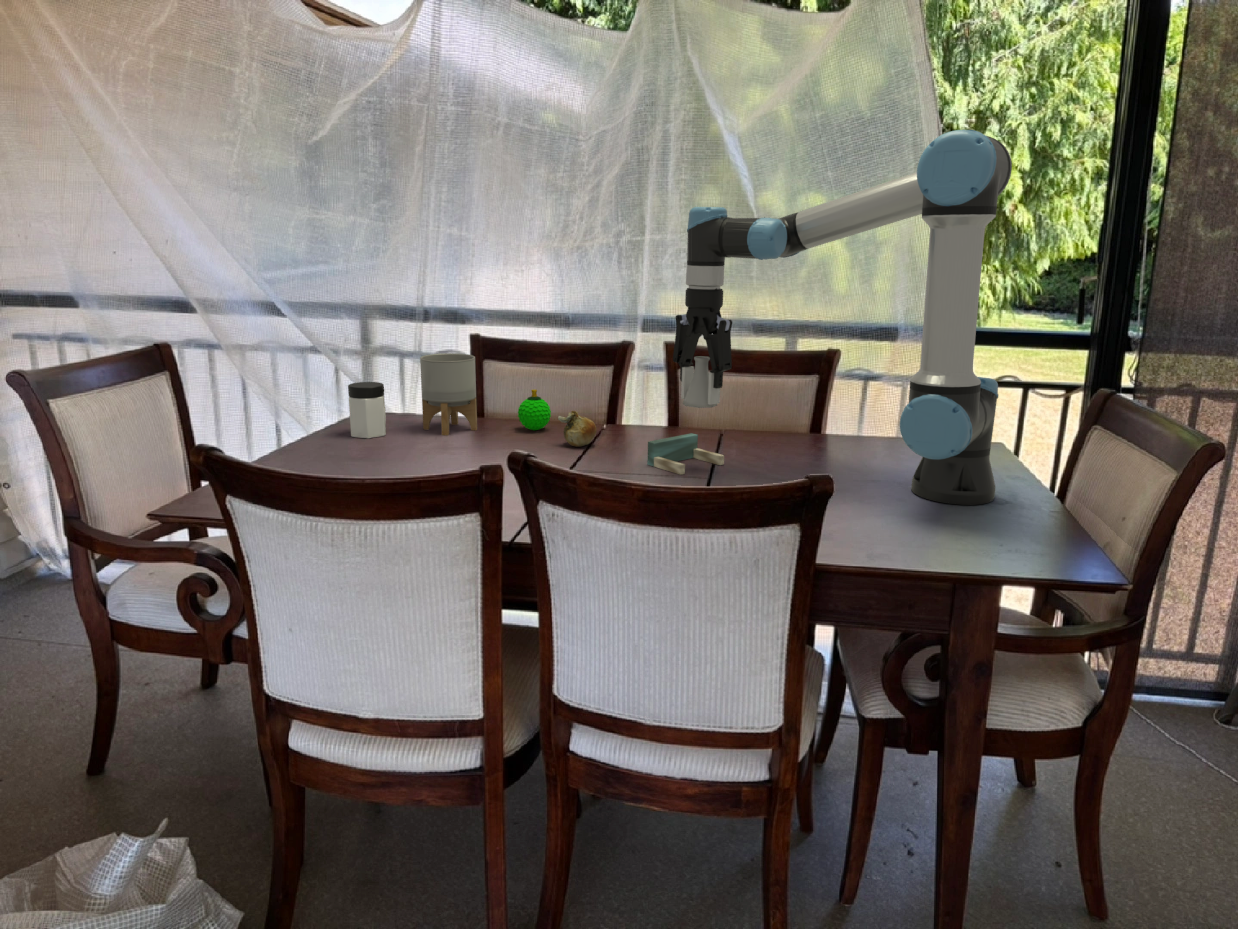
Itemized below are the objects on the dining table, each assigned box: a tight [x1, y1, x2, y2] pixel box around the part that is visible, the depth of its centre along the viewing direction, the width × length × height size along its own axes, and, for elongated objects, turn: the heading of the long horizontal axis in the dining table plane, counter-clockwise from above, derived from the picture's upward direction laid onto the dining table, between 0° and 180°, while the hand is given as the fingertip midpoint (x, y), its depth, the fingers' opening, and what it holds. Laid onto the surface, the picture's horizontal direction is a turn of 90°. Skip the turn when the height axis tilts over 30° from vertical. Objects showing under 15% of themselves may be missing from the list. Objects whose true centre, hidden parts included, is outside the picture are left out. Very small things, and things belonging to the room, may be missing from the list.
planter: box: [419, 352, 478, 437], centre depth 217 cm, size 13×13×18 cm
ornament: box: [517, 389, 552, 431], centre depth 219 cm, size 8×8×10 cm
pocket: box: [647, 432, 725, 475], centre depth 190 cm, size 10×13×5 cm
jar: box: [347, 381, 387, 439], centre depth 212 cm, size 9×8×12 cm
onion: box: [557, 410, 597, 448], centre depth 205 cm, size 8×8×8 cm
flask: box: [682, 355, 718, 409], centre depth 183 cm, size 7×7×10 cm
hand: (700, 400), depth 184 cm, fingers closed on flask, 7 cm apart
